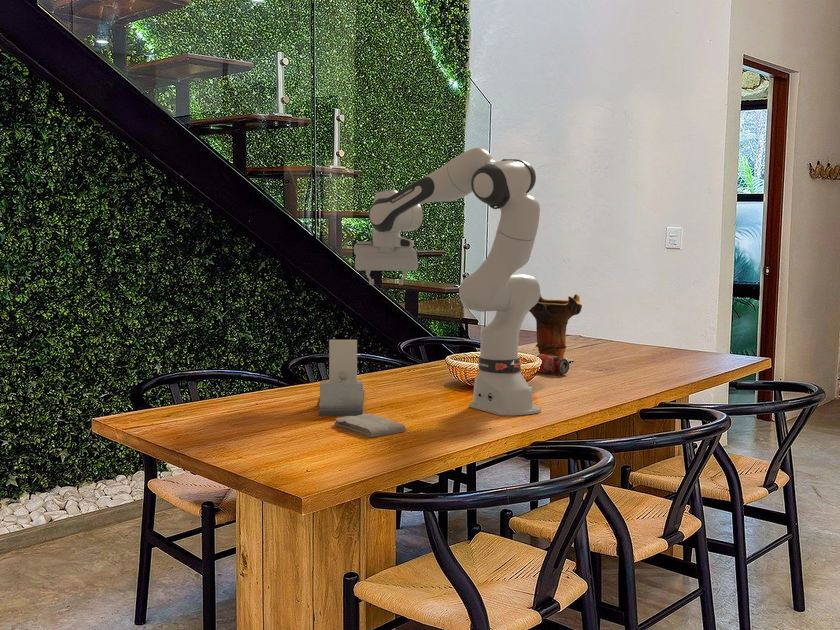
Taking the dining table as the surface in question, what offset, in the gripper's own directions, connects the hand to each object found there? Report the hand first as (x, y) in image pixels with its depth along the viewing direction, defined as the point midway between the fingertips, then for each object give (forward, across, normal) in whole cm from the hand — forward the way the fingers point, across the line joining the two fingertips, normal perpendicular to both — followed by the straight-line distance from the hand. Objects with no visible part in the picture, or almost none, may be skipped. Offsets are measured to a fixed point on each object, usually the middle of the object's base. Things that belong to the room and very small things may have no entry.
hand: (386, 284), depth 285 cm
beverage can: (+34, +60, +30) cm, 75 cm away
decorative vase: (+33, +66, +60) cm, 95 cm away
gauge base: (+34, -13, -26) cm, 44 cm away
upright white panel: (+32, -14, -25) cm, 43 cm away
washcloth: (+35, -5, -56) cm, 66 cm away
